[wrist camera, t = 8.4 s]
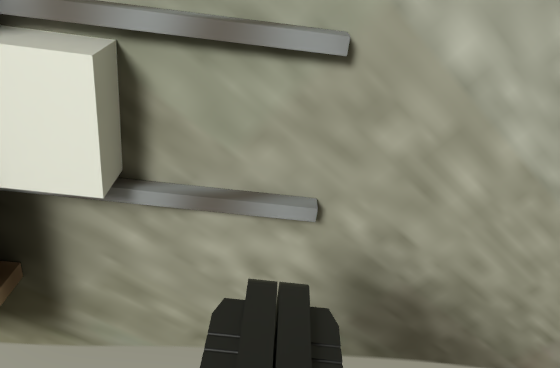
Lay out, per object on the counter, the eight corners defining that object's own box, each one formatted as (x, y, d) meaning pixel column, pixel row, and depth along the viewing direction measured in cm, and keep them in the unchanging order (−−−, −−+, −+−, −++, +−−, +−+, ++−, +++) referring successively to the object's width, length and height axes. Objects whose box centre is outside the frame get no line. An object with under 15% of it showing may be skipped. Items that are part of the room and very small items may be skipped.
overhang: (381, -151, 16) (423, -188, 11) (297, 301, 27) (301, 381, 22) (-298, -253, 15) (-574, -342, 10) (-103, 264, 26) (-193, 341, 21)
